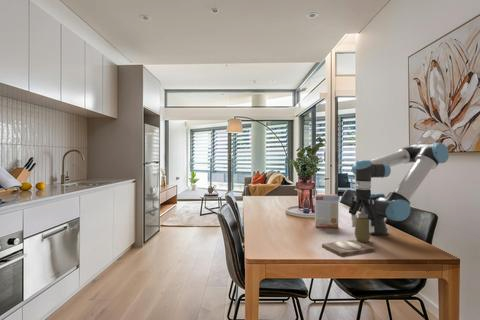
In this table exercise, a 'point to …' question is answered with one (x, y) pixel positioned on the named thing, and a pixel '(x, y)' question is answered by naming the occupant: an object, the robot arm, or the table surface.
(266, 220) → the table surface
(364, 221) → the squeeze bottle
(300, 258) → the table surface
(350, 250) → the walnut board
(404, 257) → the table surface
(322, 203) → the cracker box
